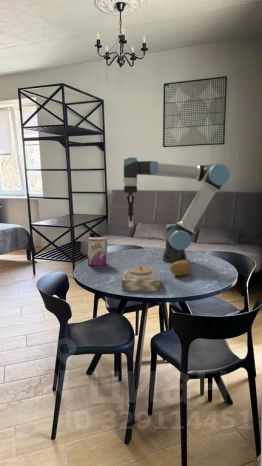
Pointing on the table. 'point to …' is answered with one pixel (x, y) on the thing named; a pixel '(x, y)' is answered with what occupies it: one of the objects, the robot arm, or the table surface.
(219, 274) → the table surface
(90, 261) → the candy bar box
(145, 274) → the lidded jar
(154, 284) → the bay
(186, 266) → the potato
